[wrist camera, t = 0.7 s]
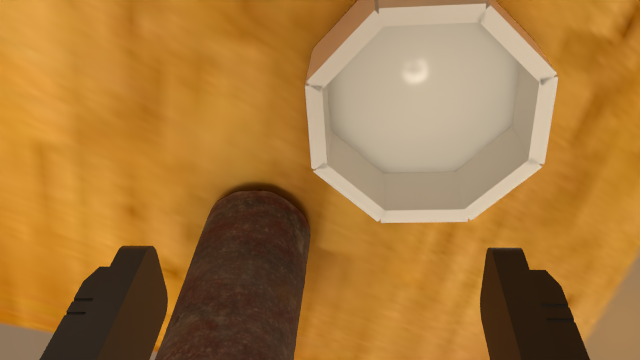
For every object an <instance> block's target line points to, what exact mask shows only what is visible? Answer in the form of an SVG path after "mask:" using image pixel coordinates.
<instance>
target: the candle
mask: <svg viewBox="0 0 640 360" xmlns="http://www.w3.org/2000/svg"><path fill="white" fill-rule="evenodd" d="M309 243H310V228H309V226H308V223H307V220H306V218H305V217H304V215H303V214H302V213H301V212H300V211H299V210H298V209H297V208H296V207H295V206H294V205H293V204H291V203H290V202H288V201H287V200H285V199H284V198H282V197H281V196H278V195H276V194H274V193H273V192H268V191H256V190H253V191H239V192H234V193H232V194H231V195H229V196H227V197H224V198H222V199H221V200H219V201H218V202H216V204H215V205H214V206H213V208H212V210H211V211H210V214H209V216H208V218H207V221H206V223H205V226H204V229H203V231H202V234H201V236H200V239H199V242H198V244H197V247H196V250H195V252H194V255H193V258H192V261H191V264H190V266H189V269H188V272H187V275H186V278H185V281H184V283H183V286H182V289H181V291H180V294H179V297H178V299H177V302H176V305H175V308H174V311H173V313H172V316H171V319H170V322H169V324H168V327H167V329H166V333H165V335H164V338H163V341H162V343H161V346H160V348H159V350H158V353H157V356H156V358H155V360H294V351H295V346H296V337H297V329H298V323H299V316H300V309H301V302H302V295H303V289H304V284H305V274H306V264H307V259H308V251H309Z"/></svg>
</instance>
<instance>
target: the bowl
mask: <svg viewBox="0 0 640 360" xmlns="http://www.w3.org/2000/svg"><path fill="white" fill-rule="evenodd" d="M556 74H557V72H556V71H555V70H554V68H553V67H552V65H551V64H550V63H549V61H548V60H547V58H546V57H545V55H544V54H543V53H542V51H541V50H540V48H539V47H538V45H537V44H536V43H535V41H534V40H533V39H532V38H531V37H530V36H529V35H528V34H527V33H526V32H525V31H524V30H523V28H522V27H521V26H520V25H519V24H518V23H517V22H516V21H515V20H514V19H513V18H512V17H511V16H510V15H509V14H508V13H507V12H506V11H505V10H504V9H503V8H502V7H501V6H500V5H499V4H498V3H497V2H496V1H495V0H357V2H356V3H355V4H354V5H353V6H352V7H351V8H350V9H349V10H348V11H347V12H346V13H345V15H344V16H343V17H342V18H341V19H340V20H339V21H338V22H337V23H336V24H335V25H334V26H333V28H332V29H331V30H330V31H329V32H328V33H327V34H326V35H325V36H324V37H323V38H322V39H321V40H320V42H319V43H318V44H317V45H316V46H315V47H314V48H313V51H312V54H311V59H310V63H309V68H308V73H307V78H306V82H305V94H306V106H307V118H308V130H309V143H310V155H311V167H312V169H314V171H313V172H314V173H316V174H317V175H318V176H319V177H321V178H322V179H323V180H325V181H326V182H327V183H328V184H330V185H331V186H332V187H334V188H335V189H336V190H337V191H339V192H340V193H341V194H342V195H344V196H345V197H346V198H348V199H349V200H350V201H351V202H353V203H354V204H355V205H357V206H358V207H359V208H360V209H362V210H363V211H364V212H366V213H367V214H368V215H369V216H371V217H372V218H373V219H375V220H376V221H377V222H378V221H379V220H380V219H381V223H411V222H468V218H469V219H470V220H473V219H474V218H475V217H477V216H478V215H479V214H481V213H482V212H483V211H485V210H486V209H487V208H489V207H490V206H491V205H493V204H494V203H495V202H497V201H498V200H499V199H501V198H502V197H503V196H505V195H506V194H507V193H509V192H510V191H511V190H513V189H514V188H515V187H516V186H518V185H519V184H520V183H522V182H523V181H524V180H526V179H527V178H528V177H530V176H531V175H532V174H534V173H535V172H536V171H538V170H539V169H540V168H542V165H541V164H544V163H545V157H546V151H547V145H548V139H549V132H550V126H551V120H552V114H553V107H554V101H555V95H556V89H557V83H558V76H557V75H556Z"/></svg>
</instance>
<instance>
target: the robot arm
mask: <svg viewBox="0 0 640 360" xmlns="http://www.w3.org/2000/svg"><path fill="white" fill-rule="evenodd" d="M167 303H168V297H167V290H166V286H165V282H164V278H163V274H162V270H161V267H160V263H159V259H158V255H157V252H156V249H155V248H154V247H153V246H122V247H121V248H120V249H119V250H118V252H117V254H116V256H115V258H114V260H113V262H112V263H111V265H110V267H99V268H98V269H97V270H96V271H95V272H93V273H92V274H91V275H90V276H89V277H88V278H87V279H86V280H84V281H83V283H82V285H81V287H80V288H79V290H78V292H77V294H76V296H75V297H74V302H72V303H71V305H70V306H69V308H68V310H67V314H66V315H64V317H63V319H62V321H61V322H60V324H59V326H58V328H57V330H56V331H55V333H54V335H53V337H52V339H51V340H50V342H49V344H48V346H47V347H46V349H45V351H44V353H43V355H42V357H41V358H40V360H149V359H150V356H151V354H152V351H153V348H154V346H155V343H156V340H157V338H158V335H159V332H160V329H161V327H162V324H163V321H164V319H165V316H166V312H167ZM480 310H481V319H482V324H483V329H484V334H485V338H486V343H487V347H488V352H489V356H490V360H590V359H589V356H588V354H587V351H586V348H585V346H584V343H583V341H582V338H581V336H580V333H579V331H578V328H577V326H576V323H574V318H573V315H572V313H571V310H570V308H568V303H567V300H566V298H565V295H564V292H563V290H562V287H561V286H560V284H559V283H558V282H557V281H556V280H555V279H554V278H553V277H552V276H551V275H550V274H549V273H548V272H547V271H546V270H529V267H528V264H527V261H526V258H525V255H524V252H523V250H522V249H521V248H488V250H487V253H486V260H485V267H484V274H483V281H482V288H481V296H480Z"/></svg>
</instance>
